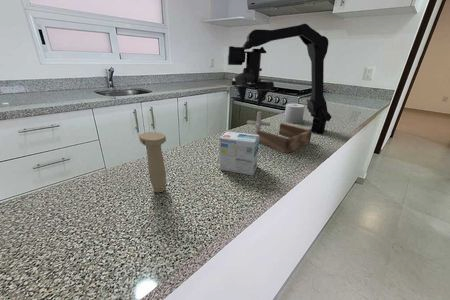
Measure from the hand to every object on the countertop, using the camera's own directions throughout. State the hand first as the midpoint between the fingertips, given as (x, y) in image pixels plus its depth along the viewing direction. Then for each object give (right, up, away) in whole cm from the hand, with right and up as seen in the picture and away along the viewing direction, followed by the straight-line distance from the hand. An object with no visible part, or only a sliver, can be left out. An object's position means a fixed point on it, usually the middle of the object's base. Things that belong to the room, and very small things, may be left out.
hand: (250, 104), depth 92 cm
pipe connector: (+4, -13, +3) cm, 14 cm away
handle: (-28, -31, -37) cm, 56 cm away
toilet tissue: (+27, -4, +24) cm, 36 cm away
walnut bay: (+12, -17, -6) cm, 22 cm away
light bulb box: (-7, -26, -26) cm, 37 cm away
